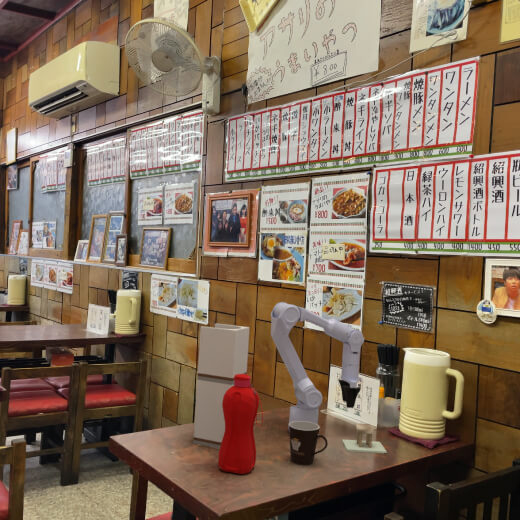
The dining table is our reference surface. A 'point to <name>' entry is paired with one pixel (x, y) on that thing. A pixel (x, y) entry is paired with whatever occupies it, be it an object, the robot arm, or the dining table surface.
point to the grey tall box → (217, 378)
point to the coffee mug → (304, 442)
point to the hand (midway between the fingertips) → (348, 404)
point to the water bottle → (239, 426)
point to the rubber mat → (363, 447)
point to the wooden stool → (362, 430)
